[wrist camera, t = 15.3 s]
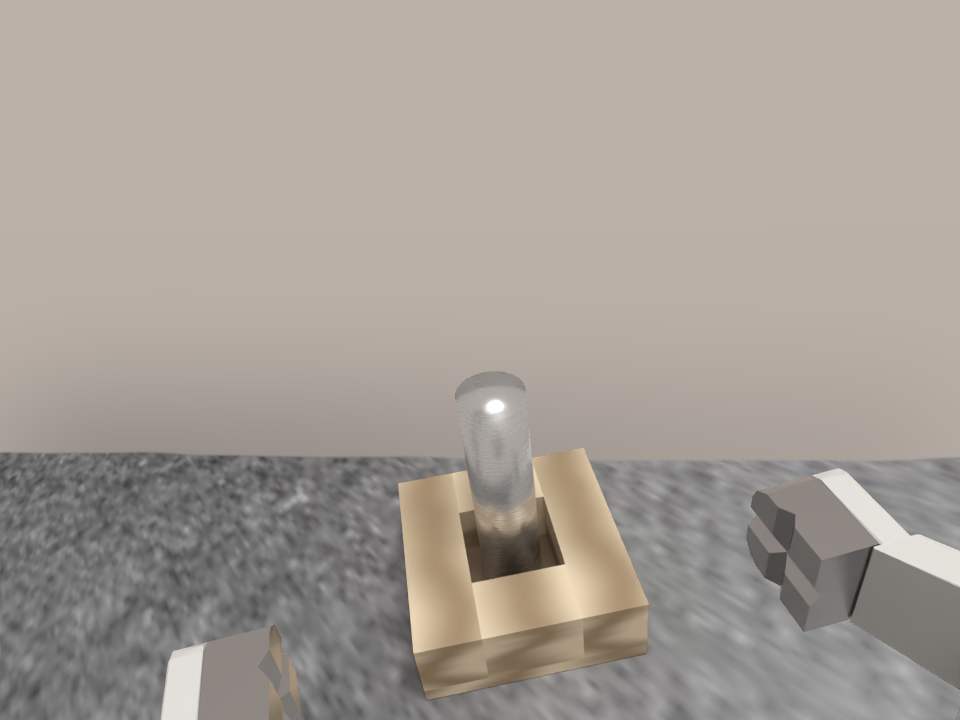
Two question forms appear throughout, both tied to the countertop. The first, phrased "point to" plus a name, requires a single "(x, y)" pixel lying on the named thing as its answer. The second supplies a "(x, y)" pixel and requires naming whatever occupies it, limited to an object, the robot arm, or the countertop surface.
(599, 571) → the socket block
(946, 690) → the countertop surface
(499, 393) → the pin
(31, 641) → the countertop surface
